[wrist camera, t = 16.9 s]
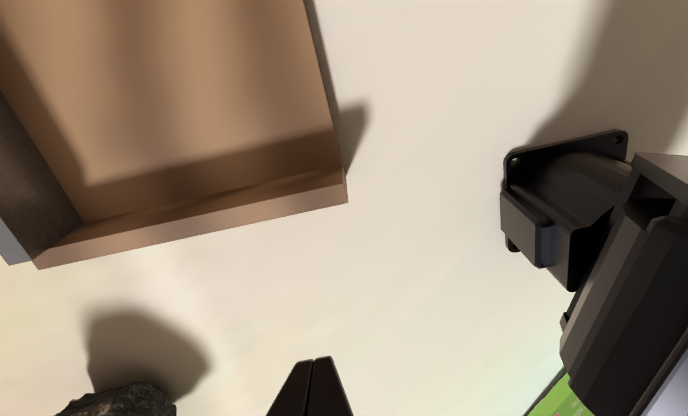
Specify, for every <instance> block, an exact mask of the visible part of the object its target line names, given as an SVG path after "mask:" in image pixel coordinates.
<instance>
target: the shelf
mask: <svg viewBox="0 0 688 416" xmlns="http://www.w3.org/2000/svg"><path fill="white" fill-rule="evenodd" d="M0 90H1V91H2V93H3V94H4V96H5V98H6V99H7V101H8V102H9V104H10V106H11V107H12V109H13V110H14V112H15V113H16V115H17V117H18V118H19V120H20V121H21V123H22V125H23V126H24V128H25V129H26V131H27V132H28V134H29V136H30V137H31V139H32V140H33V142H34V143H35V145H36V147H37V148H38V150H39V151H40V153H41V155H42V156H43V158H44V159H45V161H46V162H47V164H48V166H49V167H50V169H51V170H52V172H53V174H54V175H55V177H56V178H57V180H58V181H59V183H60V185H61V186H62V188H63V189H64V191H65V193H66V194H67V196H68V197H69V199H70V200H71V202H72V204H73V205H74V207H75V208H76V210H77V212H78V213H79V215H80V216H81V218H82V219H83V221H84V224H83V225H81V226H80V227H78V228H77V229H76V230H74V231H73V232H71V233H70V234H69V235H67V236H66V237H64V238H63V239H62V240H60V241H59V242H57V243H56V244H55V245H53V246H52V247H50V248H49V249H48V250H46V251H45V252H43V253H42V254H41V255H39V256H38V257H36V258H35V259H34V260H32V262H33V263H34V265H35V266H36V267H37V269H38V270H41V269H46V268H50V267H55V266H60V265H64V264H69V263H73V262H78V261H82V260H87V259H92V258H96V257H101V256H105V255H110V254H115V253H119V252H124V251H128V250H133V249H138V248H142V247H147V246H151V245H156V244H161V243H165V242H170V241H174V240H179V239H184V238H188V237H193V236H197V235H202V234H206V233H211V232H216V231H220V230H225V229H229V228H234V227H239V226H243V225H248V224H252V223H257V222H262V221H266V220H271V219H275V218H280V217H285V216H289V215H294V214H298V213H303V212H307V211H312V210H317V209H321V208H326V207H330V206H335V205H340V204H344V203H348V195H347V183H346V175H345V171H344V167H343V162H342V158H341V154H340V150H339V146H338V142H337V137H336V133H335V129H334V125H333V121H332V117H331V112H330V108H329V104H328V100H327V96H326V92H325V87H324V83H323V79H322V75H321V71H320V67H319V62H318V58H317V54H316V50H315V46H314V42H313V38H312V33H311V29H310V25H309V21H308V17H307V13H306V8H305V4H304V0H0Z"/></svg>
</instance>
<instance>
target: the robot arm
mask: <svg viewBox="0 0 688 416" xmlns="http://www.w3.org/2000/svg"><path fill="white" fill-rule="evenodd" d="M617 136H619V139H618V140H617V141H616V142H615V143H614V139H615V138H616V137H617ZM627 143H628V134H627V132H625V131H622V130H619V129H616V130H611V131H606V132H602V133H597V134H593V135H588V136H584V137H579V138H575V139H570V140H565V141H561V142H556V143H552V144H547V145H543V146H538V147H534V148H529V149H525V150H520V151H516V152H512V153H509V154H508V155H507V156H506V157H505V158H504V162H503V168H504V189H503V190H502V191H501V193H500V215H501V230H502V231H503V232H504V233H505V241H506V247H507V248H508V250H509V251H510V252H520V251H521V252H522V253H523V254H524V255H525V256H526V258H527V259H528V260H529V261H530V262H531V263H532V264H533V265H534V266H535V267H537V268H538V269H541V268H546V269H547V270H548V271H549V272H550V273H551V274H552V275H553V276H554V277H555V278H556V279H557V280H558V281H559V282H560V283H561V284H562V286H563V287H564V288H565V289H566V290H567V291H569V292H576V293H575V295H574V297H573V299H572V302H571V304H570V306H569V308H568V310H567V312H564V313H563V315H562V317H561V320H560V325H561V328H562V331H563V334H562V336H561V338H560V357H561V359H562V361H563V364H564V366H565V369H566V371H567V374H568V375H569V377H570V378H569V379H568V385H569V387H570V389H571V390H572V391H573V392H574V394H575V395H576V396H577V397H578V399H579V400H580V401H581V402H582V404H583V405H584V406H585V407H586V408H587V409H588V410H589V411H590V412H591V413H592V414H593V415H594V416H688V156H682V155H668V154H653V153H636V154H635V156H634V158H633V160H632V162H629V161H627V160H625V158H626V151H627ZM514 158H517V162H516V163H515V164H514V165H511V164H510V163H511V161H512V159H514ZM513 244H515V245H516V246H512V245H513ZM266 416H354V415H353V413H352V410H351V407H350V405H349V402H348V399H347V396H346V394H345V391H344V388H343V386H342V383H341V380H340V378H339V375H338V372H337V369H336V367H335V364H334V361H333V359H332V357H331V356H325V357H319V358H316V359H315V360H313V359H308V360H303V361H299V362H297V363H296V364H295V366H294V367H293V369H292V371H291V373H290V374H289V376H288V378H287V379H286V381H285V383H284V385H283V386H282V388H281V390H280V392H279V393H278V395H277V397H276V399H275V400H274V402H273V404H272V406H271V407H270V409H269V411H268V413H267V414H266Z"/></svg>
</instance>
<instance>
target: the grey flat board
mask: <svg viewBox="0 0 688 416" xmlns="http://www.w3.org/2000/svg"><path fill="white" fill-rule="evenodd" d="M83 224H84V221H83V219H82V218H81V216H80V215H79V213H78V212H77V210H76V208H75V207H74V205H73V204H72V202H71V200H70V199H69V197H68V196H67V194H66V193H65V191H64V189H63V188H62V186H61V185H60V183H59V181H58V180H57V178H56V177H55V175H54V174H53V172H52V170H51V169H50V167H49V166H48V164H47V162H46V161H45V159H44V158H43V156H42V155H41V153H40V151H39V150H38V148H37V147H36V145H35V143H34V142H33V140H32V139H31V137H30V136H29V134H28V132H27V131H26V129H25V128H24V126H23V125H22V123H21V121H20V120H19V118H18V117H17V115H16V113H15V112H14V110H13V109H12V107H11V106H10V104H9V102H8V101H7V99H6V98H5V96H4V94H3V93H2V91H1V90H0V255H1V256H2V257H3V259H4V260H5V261H6V263H7V264H8V265H9V266H10V265H14V264H19V263H23V262H28V261H32V260H34V259H35V258H36V257H38V256H39V255H41V254H42V253H43V252H45V251H46V250H48V249H49V248H50V247H52V246H53V245H55V244H56V243H57V242H59V241H60V240H62V239H63V238H64V237H66V236H67V235H69V234H70V233H71V232H73V231H74V230H76V229H77V228H78V227H80V226H81V225H83Z"/></svg>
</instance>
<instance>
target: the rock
mask: <svg viewBox="0 0 688 416" xmlns="http://www.w3.org/2000/svg"><path fill="white" fill-rule="evenodd" d="M54 416H176V406H175V405H174V404H172V403H171V402H170V401H169V400H168V399H167V398H166V396H165V395H163V394H161V391H160V390H159V389H155V388H153V387H152V386H151V385H150V384H149V383H148V382H144V381H142V382H133V383H131V384H130V385H128V386H127V387H125V388H123V389H121V390H110V391H108V392H102V393H87V394H85V395H84V396H83V397H81V398H80V399H77V400H75V399H73V400H72V401H70V402H69V405H68V406H67V407H66V408H65V409H64V410H62V411H61V412H60V413H57V414H56V415H54Z"/></svg>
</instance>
